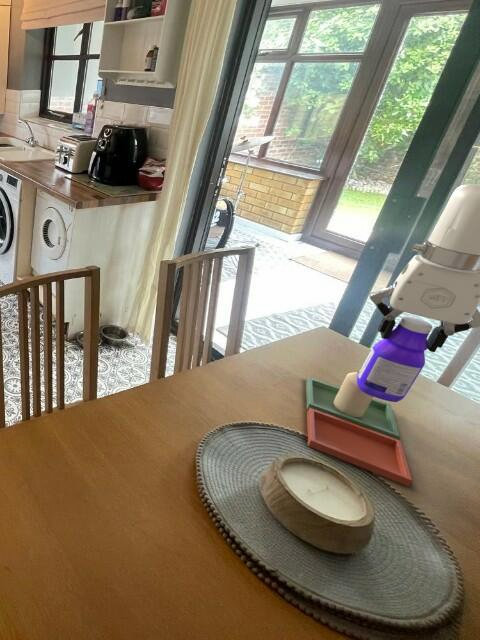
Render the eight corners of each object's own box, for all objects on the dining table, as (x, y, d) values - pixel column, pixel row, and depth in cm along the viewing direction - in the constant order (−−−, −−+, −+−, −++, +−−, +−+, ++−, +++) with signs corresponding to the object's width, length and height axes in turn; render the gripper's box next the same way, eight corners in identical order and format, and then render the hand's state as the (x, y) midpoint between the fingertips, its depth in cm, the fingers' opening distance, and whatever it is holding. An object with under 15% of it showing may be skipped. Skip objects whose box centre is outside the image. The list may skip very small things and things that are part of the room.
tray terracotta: (396, 447, 88) (401, 440, 87) (407, 487, 79) (412, 480, 78) (306, 413, 96) (309, 407, 95) (307, 447, 88) (311, 440, 87)
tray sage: (386, 410, 97) (390, 404, 97) (395, 443, 89) (399, 436, 88) (305, 382, 106) (308, 376, 105) (306, 410, 97) (309, 403, 96)
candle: (327, 403, 99) (343, 370, 94) (343, 398, 100) (360, 366, 96) (352, 420, 94) (371, 386, 90) (368, 414, 95) (387, 381, 91)
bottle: (397, 391, 84) (438, 320, 77) (405, 408, 80) (449, 335, 73) (351, 378, 88) (386, 308, 80) (356, 394, 83) (394, 322, 76)
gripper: (389, 251, 73) (349, 334, 80) (540, 278, 63) (478, 370, 71) (383, 238, 78) (346, 318, 86) (521, 262, 69) (465, 349, 76)
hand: (406, 341), depth 78 cm, fingers closed on bottle, 5 cm apart
